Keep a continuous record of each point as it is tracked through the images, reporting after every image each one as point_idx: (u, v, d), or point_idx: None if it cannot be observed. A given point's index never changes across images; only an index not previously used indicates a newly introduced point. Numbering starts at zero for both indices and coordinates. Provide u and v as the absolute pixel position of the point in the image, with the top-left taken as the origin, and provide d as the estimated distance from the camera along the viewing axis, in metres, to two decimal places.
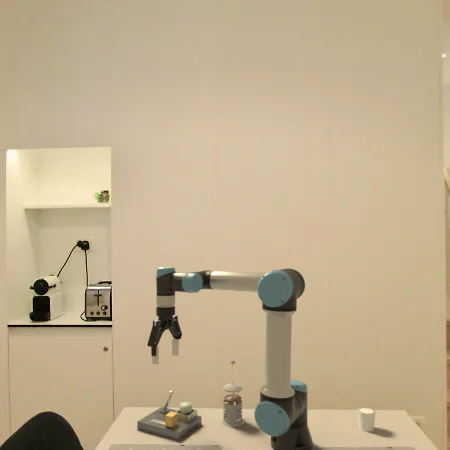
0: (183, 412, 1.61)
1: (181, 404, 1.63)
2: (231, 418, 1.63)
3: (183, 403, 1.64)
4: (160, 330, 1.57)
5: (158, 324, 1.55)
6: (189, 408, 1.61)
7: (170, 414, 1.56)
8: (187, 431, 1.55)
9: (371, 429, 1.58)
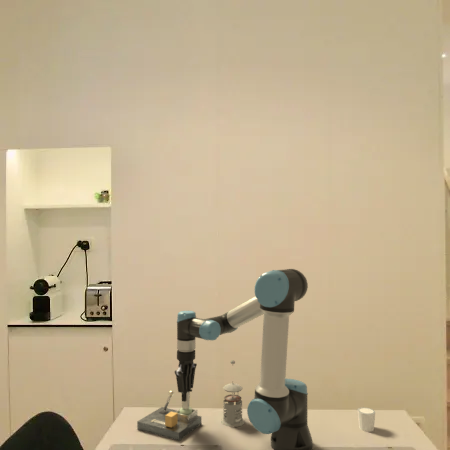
0: None
1: (181, 409, 1.63)
2: (231, 418, 1.63)
3: None
4: (184, 376, 1.62)
5: (180, 374, 1.59)
6: (189, 413, 1.61)
7: (170, 414, 1.56)
8: (187, 431, 1.55)
9: (371, 429, 1.58)
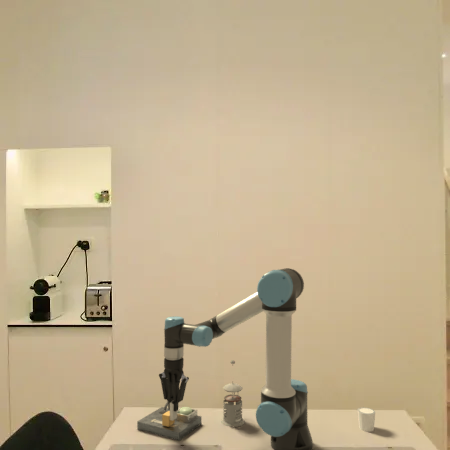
0: None
1: (181, 409, 1.63)
2: (231, 418, 1.63)
3: (183, 408, 1.64)
4: None
5: (160, 377, 1.58)
6: (189, 413, 1.61)
7: (167, 413, 1.57)
8: (187, 431, 1.55)
9: (371, 429, 1.58)
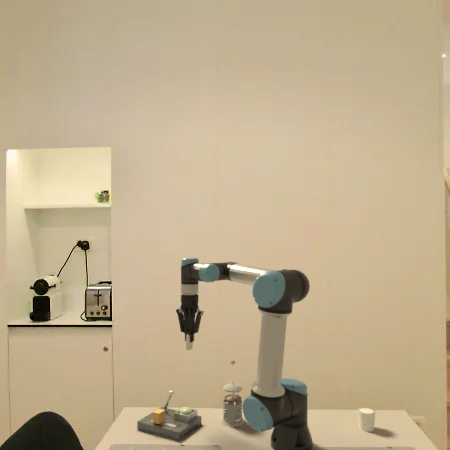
0: None
1: (181, 409, 1.63)
2: (231, 418, 1.63)
3: (183, 408, 1.64)
4: None
5: (177, 312, 1.74)
6: (189, 413, 1.61)
7: (158, 411, 1.59)
8: (187, 431, 1.55)
9: (371, 429, 1.58)
